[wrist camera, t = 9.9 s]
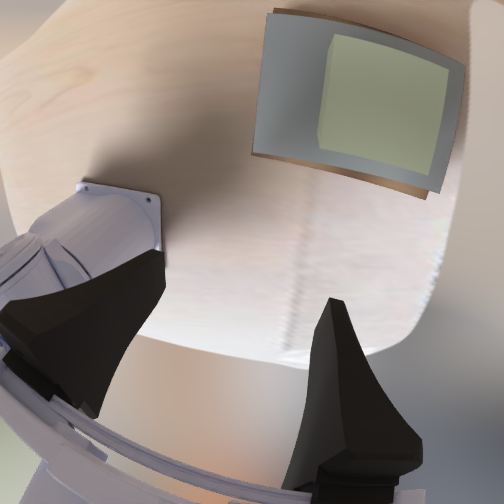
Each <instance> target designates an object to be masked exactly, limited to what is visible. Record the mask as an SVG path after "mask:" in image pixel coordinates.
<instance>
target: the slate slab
mask: <svg viewBox="0 0 504 504" xmlns="http://www.w3.org/2000/svg"><path fill="white" fill-rule="evenodd" d="M334 34H338V35H343V36H348V37H352V38H357V39H361V40H365V41H369V42H373V43H376V44H380V45H383V46H387V47H390V48H393V49H396V50H399V51H402V52H405V53H408V54H411V55H414V56H417V57H419V58H422V59H424V60H427V61H429V62H432V63H434V64H437V65H439V66H441V67H444V68H446V69H448V70H449V73H448V81H447V89H446V96H445V102H444V108H443V114H442V119H441V124H440V129H439V134H438V138H437V143H436V147H435V151H434V155H433V159H432V163H431V167H430V171H429V174H428V176H427V175H424V174H421V173H418V172H415V171H411V170H408V169H404V168H401V167H397V166H394V165H390V164H386V163H383V162H379V161H375V160H371V159H367V158H362V157H358V156H354V155H349V154H345V153H340V152H335V151H330V150H325V149H320V148H319V143H318V136H317V128H318V122H319V115H320V108H321V101H322V93H323V86H324V78H325V70H326V61H327V52H328V49H329V47H330V44H331V42H332V39H333V37H334ZM465 68H466V66H465V65H463V64H461V63H459V62H457V61H455V60H453V59H451V58H448V57H446V56H444V55H442V54H440V53H437V52H435V51H433V50H430V49H428V48H425V47H423V46H420V45H417V44H415V43H412V42H409V41H406V40H403V39H401V38H398V37H394V36H391V35H388V34H385V33H381V32H378V31H374V30H371V29H367V28H363V27H359V26H355V25H350V24H346V23H341V22H336V21H330V20H325V19H318V18H312V17H304V16H296V15H286V14H274V13H267V19H266V28H265V37H264V46H263V55H262V65H261V74H260V84H259V93H258V103H257V113H256V123H255V133H254V143H253V152H254V153H262V154H269V155H275V156H282V157H288V158H294V159H300V160H305V161H311V162H316V163H321V164H326V165H331V166H336V167H341V168H346V169H350V170H354V171H359V172H363V173H367V174H371V175H375V176H379V177H383V178H387V179H391V180H395V181H398V182H402V183H406V184H409V185H412V186H416V187H419V188H423V189H426V190H429V191H432V192H435V193H439V194H440V190H441V187H442V184H443V181H444V177H445V174H446V170H447V166H448V163H449V159H450V155H451V151H452V147H453V142H454V138H455V133H456V128H457V123H458V118H459V113H460V107H461V101H462V94H463V86H464V78H465Z"/></svg>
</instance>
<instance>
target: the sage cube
mask: <svg viewBox="0 0 504 504" xmlns="http://www.w3.org/2000/svg"><path fill="white" fill-rule="evenodd" d="M448 73H449V70H448V69H446V68H444V67H441V66H439V65H437V64H434V63H432V62H429V61H427V60H424V59H422V58H419V57H417V56H414V55H411V54H408V53H405V52H402V51H399V50H396V49H393V48H390V47H387V46H383V45H380V44H376V43H373V42H369V41H365V40H361V39H357V38H352V37H348V36H343V35H338V34H334V37H333V39H332V42H331V44H330V47H329V49H328V52H327V61H326V70H325V78H324V86H323V93H322V101H321V108H320V115H319V122H318V128H317V136H318V143H319V148H320V149H325V150H330V151H335V152H340V153H345V154H349V155H354V156H358V157H362V158H367V159H371V160H375V161H379V162H383V163H386V164H390V165H394V166H397V167H401V168H404V169H408V170H411V171H415V172H418V173H421V174H424V175H427V176H428V174H429V171H430V167H431V163H432V159H433V155H434V151H435V147H436V143H437V138H438V134H439V129H440V124H441V119H442V114H443V108H444V102H445V96H446V89H447V81H448Z"/></svg>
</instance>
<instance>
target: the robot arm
mask: <svg viewBox="0 0 504 504" xmlns="http://www.w3.org/2000/svg"><path fill="white" fill-rule="evenodd" d="M87 187H88V188H87ZM76 189H77V193H76V194H74V195H72V196H71V197H69V198H68V199H66V200H64V201H63V202H61V203H60V204H58V205H57V206H55V207H54V208H52V209H51V210H49V211H48V212H46V213H45V214H43V215H42V216H40V217H39V218H38V219H37V220H36V221H35V222H34V223H33V224H32V226H31V227H30V229H29V231H28V233H25V234H22V235H20V236H18V237H17V238H15V239H13V240H12V241H10V242H9V243H7V244H6V245H4V246H3V247H1V248H0V417H1V418H2V419H3V420H4V422H5V423H6V424H7V425H8V426H9V427H10V428H11V429H12V430H13V431H14V432H15V433H16V435H17V436H18V437H19V438H20V439H21V440H22V441H23V442H24V443H25V444H27V446H29V447H30V448H31V449H32V450H33V451H34V452H35V453H36V454H37V455H38V456H39V457H41V459H42V461H41V463H40V465H39V466H38V469H37V470H36V472H35V474H34V476H33V477H32V479H31V481H30V483H29V485H28V487H27V489H26V491H25V493H24V495H23V497H22V499H21V501H20V503H19V504H199V503H196V502H193V501H190V500H187V499H184V498H182V497H179V496H176V495H174V494H171V493H168V492H166V491H164V490H161V489H159V488H156V487H154V486H152V485H149V484H147V483H145V482H143V481H141V480H139V479H136V478H135V477H132V476H130V475H128V474H126V473H124V472H122V471H121V470H119V469H117V468H115V467H113V466H111V465H109V464H108V463H106V462H105V461H106V460H107V457H108V455H107V454H106V453H104V452H103V451H101V450H100V449H99V448H97V447H96V446H94V445H93V444H92V442H91V441H89V440H88V439H86V438H85V437H83V436H82V435H81V434H79V433H78V432H76V431H75V429H74V427H75V428H77V429H78V430H80V431H81V432H83V433H84V434H86V435H88V436H89V437H91V438H93V439H94V440H96V441H98V442H99V443H101V444H103V445H105V446H106V447H108V448H110V449H112V450H113V451H115V452H117V453H119V454H121V455H123V456H125V457H127V458H129V459H131V460H133V461H135V462H137V463H139V464H141V465H144V466H146V467H148V468H150V469H152V470H155V471H157V472H159V473H162V474H164V475H167V476H169V477H172V478H174V479H177V480H180V481H182V482H185V483H188V484H191V485H194V486H196V487H200V488H203V489H206V490H209V491H212V492H216V493H219V494H223V495H227V496H231V497H234V498H238V499H243V500H247V501H252V502H257V503H262V504H425V496H426V490H425V489H418V490H407V491H398V492H394V487H395V486H397V485H398V484H399V477H400V476H402V475H404V474H406V473H409V472H411V471H413V470H415V469H417V468H418V467H420V466H421V464H422V463H423V445H422V439H421V438H420V437H419V436H418V435H417V433H416V432H415V431H414V430H413V429H412V428H411V427H410V426H409V425H408V424H407V423H406V421H405V420H404V419H403V417H402V416H401V415H400V414H399V412H398V411H397V410H396V408H395V407H394V406H393V404H392V403H391V401H390V400H389V398H388V397H387V395H386V394H385V392H384V391H383V389H382V388H381V386H380V384H379V383H378V381H377V379H376V377H375V375H374V374H373V372H372V370H371V368H370V366H369V364H368V362H367V359H366V357H365V355H364V353H363V351H362V348H361V346H360V344H359V341H358V339H357V336H356V334H355V331H354V328H353V326H352V323H351V320H350V317H349V315H348V312H347V309H346V306H345V303H344V301H342V300H338V299H334V298H330V297H329V299H328V302H327V304H326V306H325V308H324V311H323V313H322V315H321V317H320V320H319V322H318V324H317V326H316V328H315V331H314V336H313V341H312V347H311V353H310V365H309V378H308V388H307V397H306V404H305V409H304V414H303V418H302V422H301V426H300V430H299V434H298V438H297V441H296V445H295V448H294V451H293V455H292V458H291V461H290V465H289V467H288V470H287V473H286V476H285V479H284V482H283V484H282V487H281V489H278V488H272V487H267V486H262V485H257V484H253V483H248V482H244V481H240V480H236V479H232V478H229V477H225V476H221V475H218V474H215V473H211V472H208V471H205V470H202V469H199V468H196V467H193V466H190V465H187V464H185V463H182V462H179V461H177V460H174V459H171V458H169V457H167V456H164V455H162V454H159V453H157V452H155V451H152V450H150V449H148V448H146V447H143V446H141V445H139V444H137V443H135V442H133V441H131V440H129V439H127V438H125V437H123V436H121V435H119V434H117V433H115V432H114V431H112V430H110V429H108V428H106V427H105V426H103V425H101V424H99V423H98V422H96V421H94V420H93V419H96V418H98V416H99V412H100V410H101V406H102V404H103V401H104V398H105V395H106V392H107V390H108V387H109V385H110V383H111V380H112V378H113V376H114V373H115V371H116V369H117V367H118V365H119V363H120V361H121V359H122V357H123V355H124V353H125V351H126V349H127V347H128V346H129V344H130V342H131V341H132V339H133V338H134V336H135V335H136V334H137V332H138V331H139V329H140V328H141V326H142V325H143V324H144V322H145V321H146V319H147V318H148V317H149V315H150V314H151V312H152V311H153V309H154V308H155V307H156V305H157V303H158V301H159V300H160V298H161V296H162V294H163V292H164V290H165V288H166V280H165V263H164V252H162V251H161V201H160V197H159V196H158V195H156V194H151V193H146V192H140V191H135V190H129V189H124V188H118V187H112V186H106V185H100V184H94V183H88V182H78V183H77V185H76ZM148 198H150V200H151V202H150V201H149V200H148ZM73 426H74V427H73ZM228 504H249V503H243V502H238V501H229V503H228Z"/></svg>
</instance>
